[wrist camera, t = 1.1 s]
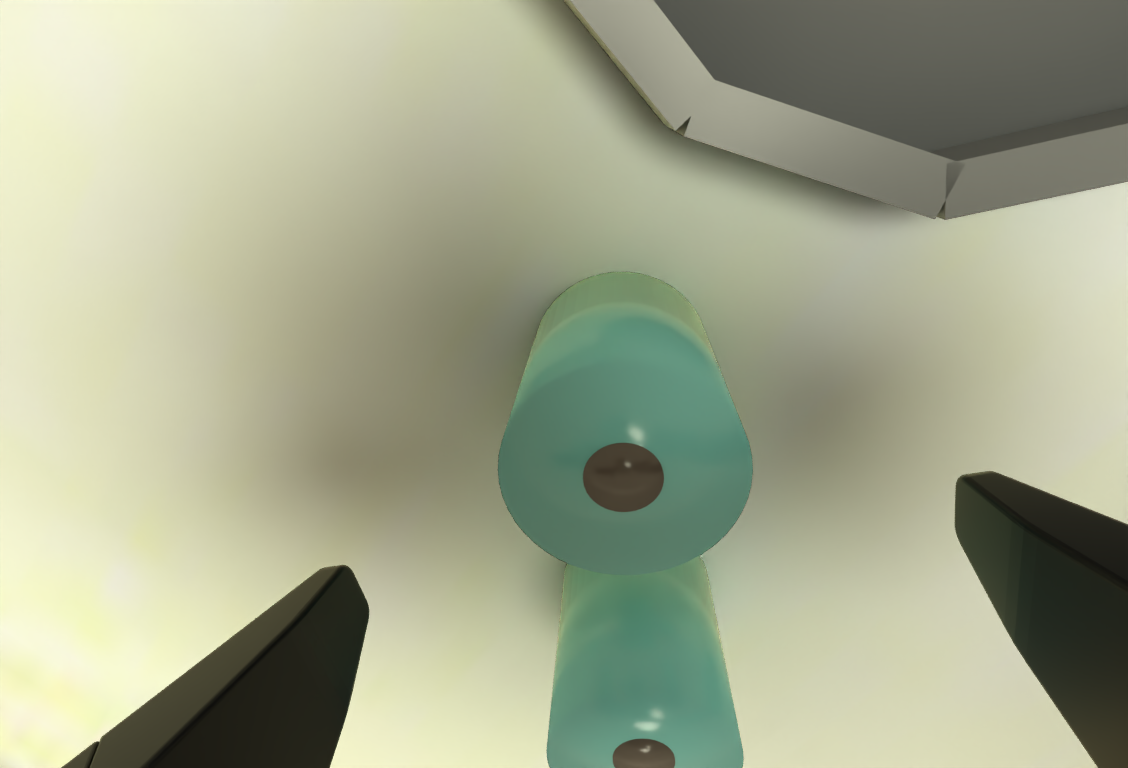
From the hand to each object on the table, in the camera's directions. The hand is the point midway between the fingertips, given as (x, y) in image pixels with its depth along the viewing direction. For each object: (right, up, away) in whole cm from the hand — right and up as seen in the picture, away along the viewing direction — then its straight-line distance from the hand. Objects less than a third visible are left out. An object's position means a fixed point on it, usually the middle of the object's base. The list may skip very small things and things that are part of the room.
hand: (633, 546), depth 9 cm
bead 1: (0, +3, +7) cm, 7 cm away
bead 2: (+1, -4, +10) cm, 10 cm away
